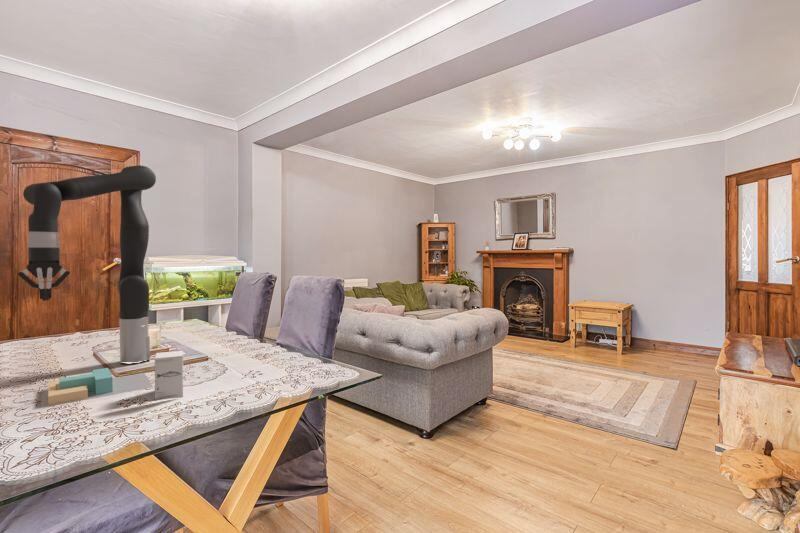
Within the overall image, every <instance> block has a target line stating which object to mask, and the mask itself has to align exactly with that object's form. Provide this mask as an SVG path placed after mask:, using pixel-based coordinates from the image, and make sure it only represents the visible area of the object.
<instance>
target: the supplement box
mask: <svg viewBox="0 0 800 533" xmlns="http://www.w3.org/2000/svg"><path fill="white" fill-rule="evenodd" d="M183 397H184V350H174V351H163V352H156V353H155V356H154V401H155V402H157V401H162V400H168V399H170V400H171V399H177V398H183Z"/></svg>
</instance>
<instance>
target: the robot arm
mask: <svg viewBox="0 0 800 533" xmlns="http://www.w3.org/2000/svg"><path fill="white" fill-rule="evenodd" d="M156 182H157V177H156V174H155V173H154V171H153V169H151V168H149V167H148V166H144V165H130V166H125V167H123V168H122V169H121V171H120V172H116V173H110V174H109V173H108V174H98V175H96V174H95V175H86V176H78V177H72V178H67V179H62V180H58V181H47V182H40V183H39V182H38V183H32V184H29V185H28V186H26V187H25V188H24V190H23V192H22V195H23V196H22V197H23V198H24V200H25V201H26V202H27V203H29V204H31V205H33V211H32V213H30V214H29V216H28V219H27V220H28V221H27V222H28V224H27V225H28V236H27V257H28V258H27V259H28V264H27V265H26V268H25V269H23V270H21V271H19V272H18V273H17V275H18V276H19V277H20V278H21V279H23V281H25V282H26V283H27V284H28V285H29V286H30V287H31V288H35V289H38V290H39V299H40V300H42V301H43V302H44V301H45V302H48V301H49V300H50V299H52V289H53V288H56V287H58V286H60V284H61V283H63V281H64V280H65V279H66V278H67V277H68V276H69V275H70V273H71V272H70V270H67V269H65V268H63V265H62V264H61V257H60V256H61V252H60V251H61V250H60V247H61V246H60V245H61V244H60V237H59V224H58V223H59V221H58V219H59V215H60V211H61V206H62V202H64V201H65V202H66V201H75V200H76V201H77V200H82V199H87V198H92V197H93V198H94V197H96V196H101V195H105V194H110V193H115V192H119V193H120V223H119V224H120V225H119V228H120V229H119V248H120V261H121V262H120V264H121V266H120V272H119V277H118V278H119V280H118V285H117V290H118V293H119V312H118V314H119V322H118V323H119V355H120V356H119V361H120V362H139V361H144V360H150V361H151V346H150V345H151V343H150V342H151V341H150V340H151V339H150V335H149V310H150V286H149V284H148V281H147V280H146V279H145V273H144V272H145V270H144V262H145V259H146V254H147V249H148V245H149V236H150V234H149V232H150V229H149V228H150V227H149V226H150V225H149V220H148V219H147V216H146V214H145V211H144V209H143V206H142V194H143V193H142V192H143V191H146V190H150V189H151V188H152V187H154V186H155V184H156ZM59 272H60V273H59ZM58 273H59V274H60V275H59V276H60V277H58V278H57V279H56V280H55V281H54V282H53V278H54V277H56V276H57V274H58ZM30 274H31V275H32V276H34V278H37V282H38V283H37V282H35V281H34V280H33V279H31V278H30ZM45 279H46V284H45ZM45 285H46V287H45ZM120 362H119V363H120Z"/></svg>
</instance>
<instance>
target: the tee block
mask: <svg viewBox="0 0 800 533" xmlns="http://www.w3.org/2000/svg"><path fill="white" fill-rule="evenodd" d="M112 378H113V376H112V373H111V371H110V369H109V367H105V368H97V369H93V370H92V372H91V373H86V374H80V375H73V376H67V377H62V378H58V380H59V386H60V390H62V389H68V388H74V387H80V386H86V385H87V389H88V392H93V391H95V394H96V395H99V394H104V393H109V392H113V385H112Z"/></svg>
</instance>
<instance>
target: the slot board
mask: <svg viewBox="0 0 800 533" xmlns="http://www.w3.org/2000/svg"><path fill="white" fill-rule="evenodd" d="M112 385H113V392H109V393H104V394H99V395H96V394H95V391H93V392H88V389H87V385H86V386H80V387H74V388H68V389H62V390H60V386H59V379H55V380H49V381H48V388H45V389H42V394H41V395H42V396H41V403H40V408H41V409H43V408H49V407H54V406H60V405H64V404H70V403H75V402H82V401H85V400H92V399H99V398H102V397H103V398H104V397H107V396H114V395H119V394H123V393H124V394H125V393H129V392H134V391H140V390H144V389H145V390H146V389H149V388H154V386H153V384H152V383H151V382H150V379H149V378H148V377H147V375H146V374H145V372H141V373H136V374H135V373H134V374H129V375H124V376H118V377H112Z"/></svg>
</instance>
